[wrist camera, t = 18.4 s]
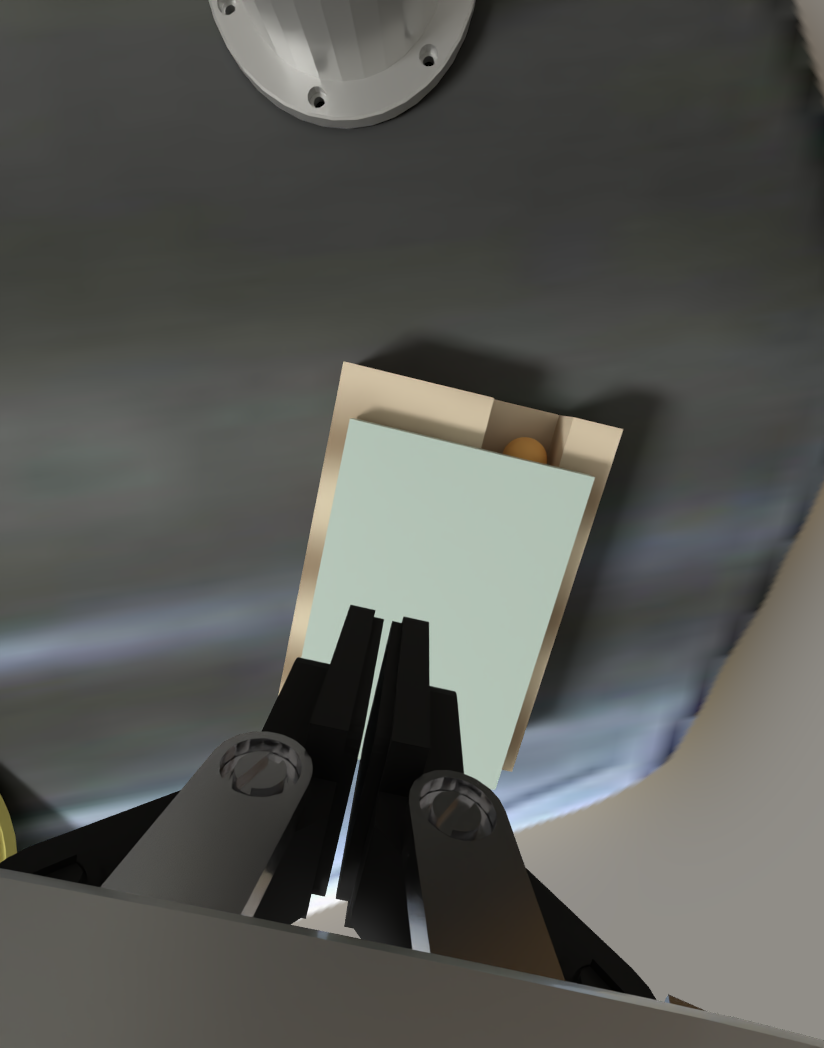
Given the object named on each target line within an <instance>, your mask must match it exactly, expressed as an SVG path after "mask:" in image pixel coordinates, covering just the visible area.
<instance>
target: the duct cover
mask: <svg viewBox="0 0 824 1048" xmlns="http://www.w3.org/2000/svg"><path fill="white" fill-rule="evenodd" d="M594 479H595V477H593V476H591V475H589V474H585V473H580V472H576V471H572V470H568V469H564V468H560V467H555V466H551V465H547V464H543V463H539V462H535V461H530V460H526V459H522V458H518V457H514V456H510V455H505V454H501V453H497V452H493V451H489V450H485V449H480V448H476V447H472V446H468V445H464V444H460V443H455V442H451V441H447V440H443V439H439V438H435V437H430V436H426V435H422V434H418V433H414V432H410V431H405V430H401V429H397V428H393V427H389V426H385V425H380V424H376V423H372V422H368V421H364V420H360V419H356V418H351V419H350V420H349V425H348V430H347V435H346V440H345V445H344V450H343V455H342V460H341V465H340V470H339V475H338V479H337V484H336V489H335V494H334V499H333V504H332V509H331V514H330V519H329V524H328V529H327V534H326V539H325V543H324V548H323V553H322V558H321V563H320V568H319V573H318V578H317V583H316V588H315V593H314V598H313V603H312V607H311V612H310V617H309V622H308V627H307V632H306V637H305V642H304V647H303V652H302V657H301V658H304V659H309V660H314V661H318V662H323V663H327V664H330V663H331V660H332V657H333V654H334V651H335V648H336V645H337V642H338V639H339V636H340V633H341V630H342V628H343V625H344V622H345V619H346V616H347V613H348V610H349V607H350V605H355V606H359V607H364V608H368V609H373V610H376V611H375V615H374V617H377V618H381V619H384V623H383V629H382V634H381V640H380V645H379V651H378V656H377V662H376V667H375V673H374V678H373V684H372V689H371V695H370V700H369V706H368V711H367V717H366V722H365V728H364V732H363V737H362V742H361V746H360V751H359V755H358V759H360V758H361V752H362V747H363V742H364V737H365V733H366V728H367V724H368V720H369V716H370V711H371V707H372V703H373V699H374V695H375V690H376V686H377V682H378V678H379V674H380V669H381V665H382V661H383V657H384V653H385V648H386V644H387V640H388V636H389V632H390V627H391V624H392V621H395V622H399V623H402V620H403V617H409V618H413V619H418V620H422V621H427V622H429V680H430V686H433V687H438V688H442V689H447V690H451V691H455V692H456V694H457V701H458V712H459V723H460V734H461V745H462V755H463V766H464V774H466V775H468V776H471V777H473V778H475V779H477V780H478V781H480V782H481V783H483V784H484V785H485V786H487V787H488V788H489V789H493V790H495V789H496V786H497V783H498V780H499V777H500V773H501V770H502V767H503V764H504V761H505V758H506V755H507V751H508V748H509V745H510V742H511V739H512V736H513V733H514V730H515V726H516V723H517V720H518V717H519V714H520V711H521V708H522V705H523V701H524V698H525V695H526V692H527V689H528V686H529V683H530V679H531V676H532V673H533V670H534V667H535V664H536V661H537V658H538V654H539V651H540V648H541V645H542V642H543V639H544V636H545V632H546V629H547V626H548V623H549V620H550V617H551V614H552V611H553V607H554V604H555V601H556V598H557V595H558V592H559V589H560V586H561V582H562V579H563V576H564V573H565V570H566V567H567V564H568V560H569V557H570V554H571V551H572V548H573V545H574V542H575V539H576V535H577V532H578V529H579V526H580V523H581V520H582V517H583V514H584V510H585V507H586V504H587V501H588V498H589V495H590V492H591V488H592V485H593V482H594Z"/></svg>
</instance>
